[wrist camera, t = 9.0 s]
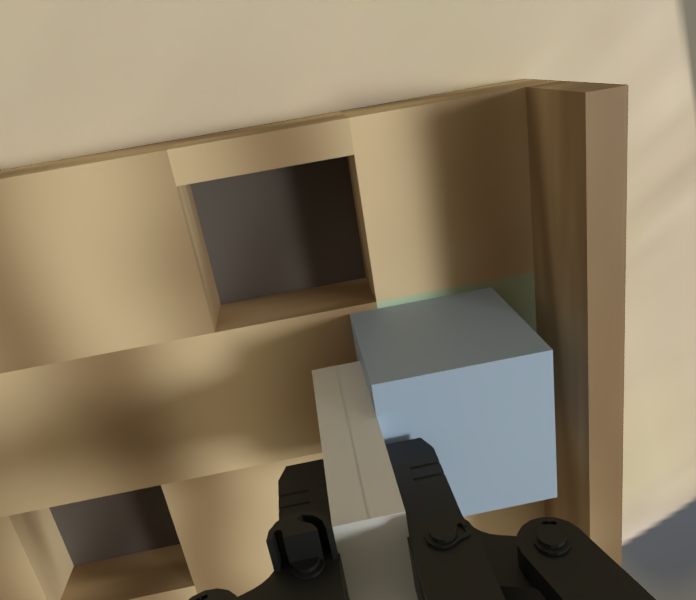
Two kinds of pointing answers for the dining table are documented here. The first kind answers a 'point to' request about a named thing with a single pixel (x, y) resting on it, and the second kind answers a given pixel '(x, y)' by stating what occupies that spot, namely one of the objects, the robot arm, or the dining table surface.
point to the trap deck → (285, 319)
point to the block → (465, 393)
